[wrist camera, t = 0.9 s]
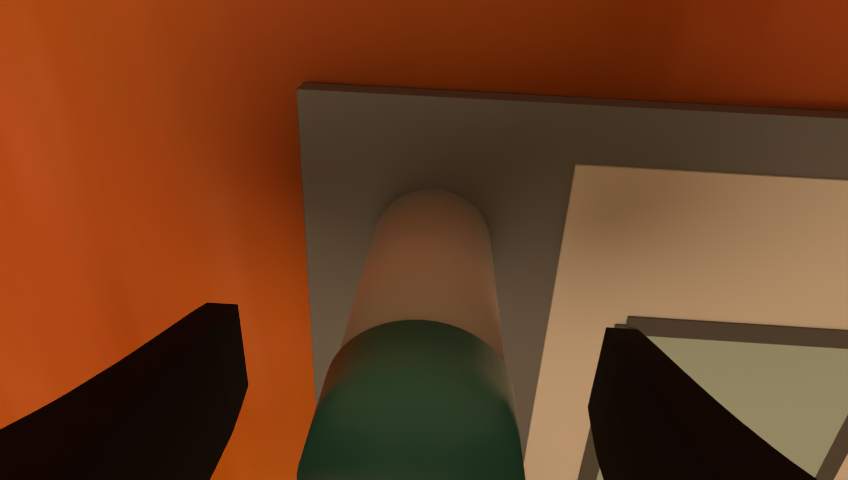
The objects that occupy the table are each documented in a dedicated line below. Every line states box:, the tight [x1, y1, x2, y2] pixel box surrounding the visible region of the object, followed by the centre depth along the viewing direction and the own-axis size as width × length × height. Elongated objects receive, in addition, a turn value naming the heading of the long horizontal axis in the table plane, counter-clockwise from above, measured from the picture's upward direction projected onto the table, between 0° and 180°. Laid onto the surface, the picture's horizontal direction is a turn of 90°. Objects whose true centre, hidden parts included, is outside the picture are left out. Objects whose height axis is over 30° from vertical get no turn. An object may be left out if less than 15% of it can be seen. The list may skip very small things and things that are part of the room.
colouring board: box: [296, 82, 848, 480], centre depth 17 cm, size 20×18×3 cm
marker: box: [297, 189, 526, 480], centre depth 12 cm, size 3×3×8 cm
